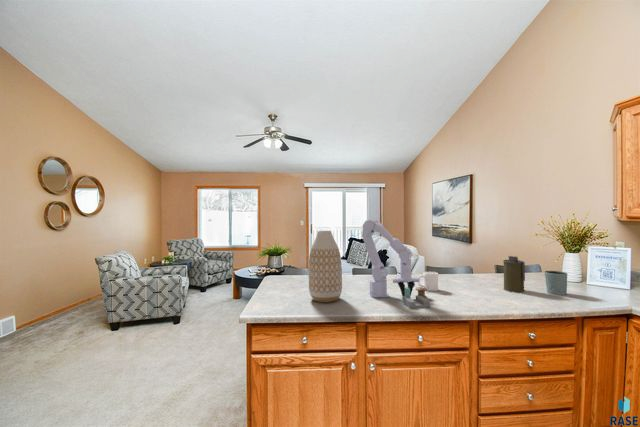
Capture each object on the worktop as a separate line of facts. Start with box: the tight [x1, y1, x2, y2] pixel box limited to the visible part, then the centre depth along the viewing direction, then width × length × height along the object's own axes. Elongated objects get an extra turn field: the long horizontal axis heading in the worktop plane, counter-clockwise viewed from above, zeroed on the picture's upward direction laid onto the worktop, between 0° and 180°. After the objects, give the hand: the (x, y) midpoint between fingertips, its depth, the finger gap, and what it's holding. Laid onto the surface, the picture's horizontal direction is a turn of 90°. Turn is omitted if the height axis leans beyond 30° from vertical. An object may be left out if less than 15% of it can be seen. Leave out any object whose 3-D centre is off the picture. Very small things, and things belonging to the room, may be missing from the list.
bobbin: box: [415, 286, 428, 300], centre depth 160 cm, size 6×6×5 cm
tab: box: [404, 286, 411, 298], centre depth 157 cm, size 3×7×6 cm, turn 5°
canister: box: [502, 255, 526, 294], centre depth 171 cm, size 11×10×20 cm
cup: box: [417, 271, 439, 292], centre depth 176 cm, size 8×12×10 cm
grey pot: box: [544, 270, 568, 296], centre depth 164 cm, size 10×10×12 cm
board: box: [401, 295, 431, 309], centre depth 148 cm, size 10×10×3 cm
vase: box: [308, 230, 343, 303], centre depth 160 cm, size 19×18×38 cm
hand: (406, 295), depth 158 cm, fingers closed on tab, 3 cm apart
